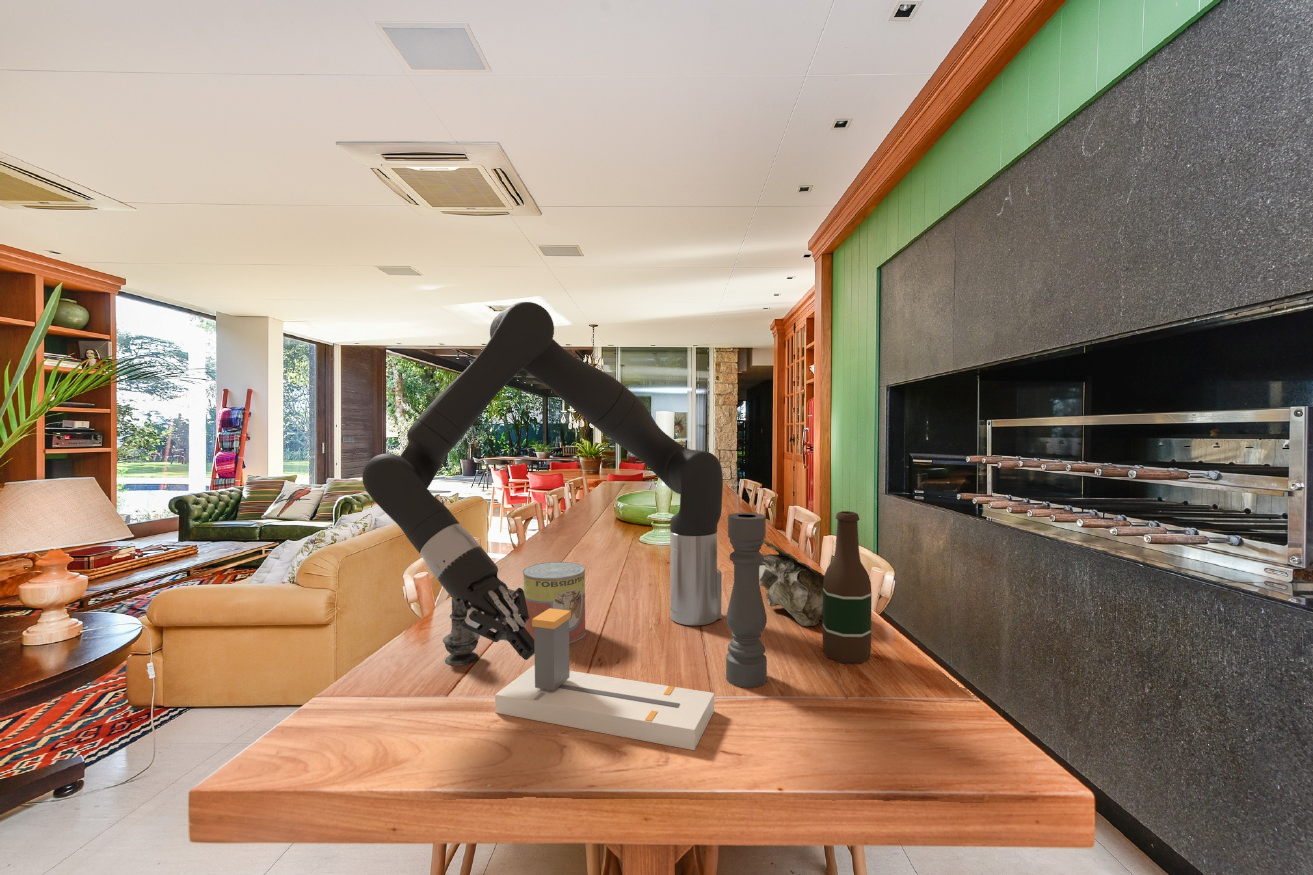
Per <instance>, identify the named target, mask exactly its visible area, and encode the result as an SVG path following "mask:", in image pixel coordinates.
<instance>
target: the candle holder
mask: <svg viewBox="0 0 1313 875" xmlns="http://www.w3.org/2000/svg"><path fill="white" fill-rule="evenodd" d="M766 517H767V516H766V515H765V514H763V513H756V512H754V513H753V512H734V513H730V514H728V516H727V537H728V538H729V543H730V544H731V547H732V549H733V551H732V552H731V553H729V561H731V562H732V564H733V585H732V590H731V594H730V598H729V604H728V607H727V611H726V624H727V626H728V628H729V629H730V631H731V636H732V637H733V638H732V639H731V640H730V642H729V643H728V644H727V651H728V652H727V653H726V654H725V655H726V656H725V659H726V661H725V671H726V672H725V679H726V681H727V683H729V684H731V685H733V686H735V687H739V688H745V689H746V688H747V689H754V688H759V687H762V686H764V685H765V684H766V683H767V681H768V679H767V678H768V676H767V674H768V671H767V670H768V665H767V664H768V663H767V662H768V660H767V656H766V655H765V653H766V646H765V645H764V644H763V642H762V641H761V637H762V632H763V631H764V629H765V628H766V627H767V623H768V618H767V613H766V612H767V611H766V608H765V603H764V599H763V596H762V591H761V590H762V589H761V586H760V582H759V565H761V562H763V561H764V555H765V554H763V553H761V552H760V551H761V549H762V546H763V545H764V544H765V543H764V539H766V536H767V534H766V533H767V531H766V530H767V528H766V525H767V523H766V522H767V521H766V520H767V518H766Z"/></svg>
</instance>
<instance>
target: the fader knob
mask: <svg viewBox="0 0 1313 875" xmlns="http://www.w3.org/2000/svg"><path fill="white" fill-rule="evenodd" d="M570 618H571V611H569V610H560V609H552V608H549V609H548V610H546V611H544V612H543V613H541V614H540V615H538V616H536V617H535V618H533V619H532V626H533V627H534V649H535V654H534V665H535V688H540V689H546V690H552V691H555V690H556V689H557V688H558V687H559V686H560V685H562V684H563V683H564V682H565V681H566V680H567V679H568V678H569V671H570V644H569V619H570Z"/></svg>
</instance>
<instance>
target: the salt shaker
mask: <svg viewBox="0 0 1313 875" xmlns="http://www.w3.org/2000/svg"><path fill="white" fill-rule="evenodd" d="M467 612H468V611H466V609H465V608H464V605H463V602H461V603H457V602H455V601H454V600H453V599H452V598H451V613H450V615H449V618H450V620H451V630H450V634H447V635H445V636H444V637H443V639H442V643H444V648H445V650H446V651H447V652H448V653H449V655H448V656H446V658H445V659H444V661H445V664H446V665H449V666H452V667H453V666H454V667H455V666H465V665H470V664H472V663H475V662H476V661H477V660H478V659H479V654H478V653H476V652H474V651H475V649H476V648H477V647H478V643H479V639H480V638H481V635H479V634H477V633H474V632H472V631H470V630H468V629H466V628H464V627H463V626H462V622H463V621H464V620H465V619H466V618H467Z"/></svg>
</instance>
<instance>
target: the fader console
mask: <svg viewBox="0 0 1313 875" xmlns="http://www.w3.org/2000/svg"><path fill="white" fill-rule="evenodd" d="M494 701H495V702H494V704H495V705H494V709H495V714H500V715H504V716H512V717H517V718H521V719H526V720H532V721H538V722H541V723H549V724H553V725H559V726H565V727H569V728H574V729H581V730H585V731H590V732H595V733H600V734H601V733H602V734H606V735H612V736H615V737H616V736H617V737H622V738H626V739H633V740H638V741H643V742H649V743H655V744H658V745H665V746H670V747H675V748H680V749H685V750H691V751H696V748H697V747H698V744H699V742H700V741H701V738H702V735H703V734H704V732H705V730H706V728H707V726H708V724H709V723H710V720H711V719H712V717H713V714H714V713H715V693H714V692H710V691H703V690H696V689H691V688H685V687H679V686H677V687H676V686H672V685H665V684H660V683H659V684H658V683H653V682H652V683H651V682H647V681H646V682H645V681H640V680H639V681H638V680H631V679H627V678H626V679H625V678H619V677H612V676H606V675H600V674H594V673H593V674H592V673H587V672H581V671H573V670H569V678H568V679H567V680H566V681H565V682H564V683H563V684H562V685H560V686H559V687H558V688H557V689H556V690H555V691H552V690H546V689H540V688H535V664H534V665H532V666H531V667H529V668H528V669H526V671H524V672H522V673H521V674H520V675H519V676H517V677H516V678H515V679H514V680H513V681H511V682H510V683H509V684H507V685H505V687H503V688H502V689H500V690H499V691H497V693H496V694H494Z"/></svg>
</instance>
